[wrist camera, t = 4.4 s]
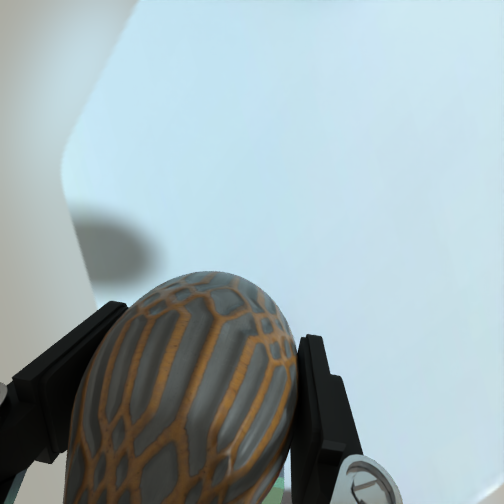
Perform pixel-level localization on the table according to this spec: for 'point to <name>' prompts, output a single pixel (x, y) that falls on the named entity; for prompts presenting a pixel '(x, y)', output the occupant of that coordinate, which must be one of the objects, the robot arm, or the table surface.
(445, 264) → the table surface
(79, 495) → the vase
